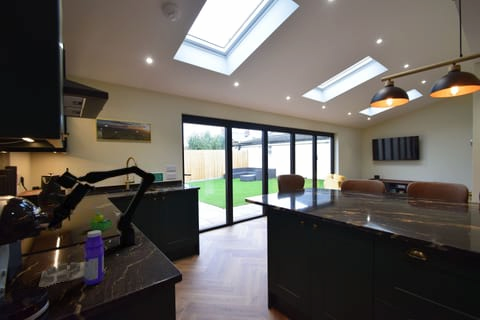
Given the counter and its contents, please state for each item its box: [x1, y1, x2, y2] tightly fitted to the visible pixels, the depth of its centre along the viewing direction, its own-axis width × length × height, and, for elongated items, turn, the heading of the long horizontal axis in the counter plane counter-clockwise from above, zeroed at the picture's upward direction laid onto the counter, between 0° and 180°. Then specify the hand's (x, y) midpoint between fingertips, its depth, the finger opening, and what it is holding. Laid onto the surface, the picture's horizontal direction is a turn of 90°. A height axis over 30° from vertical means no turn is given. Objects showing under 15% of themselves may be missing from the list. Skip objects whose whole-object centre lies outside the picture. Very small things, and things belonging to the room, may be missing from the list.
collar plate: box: [38, 261, 85, 288], centre depth 80 cm, size 16×13×3 cm
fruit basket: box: [88, 212, 113, 232], centre depth 132 cm, size 11×9×11 cm
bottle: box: [83, 230, 105, 286], centre depth 75 cm, size 7×6×17 cm
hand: (51, 225), depth 92 cm, fingers open, 9 cm apart
